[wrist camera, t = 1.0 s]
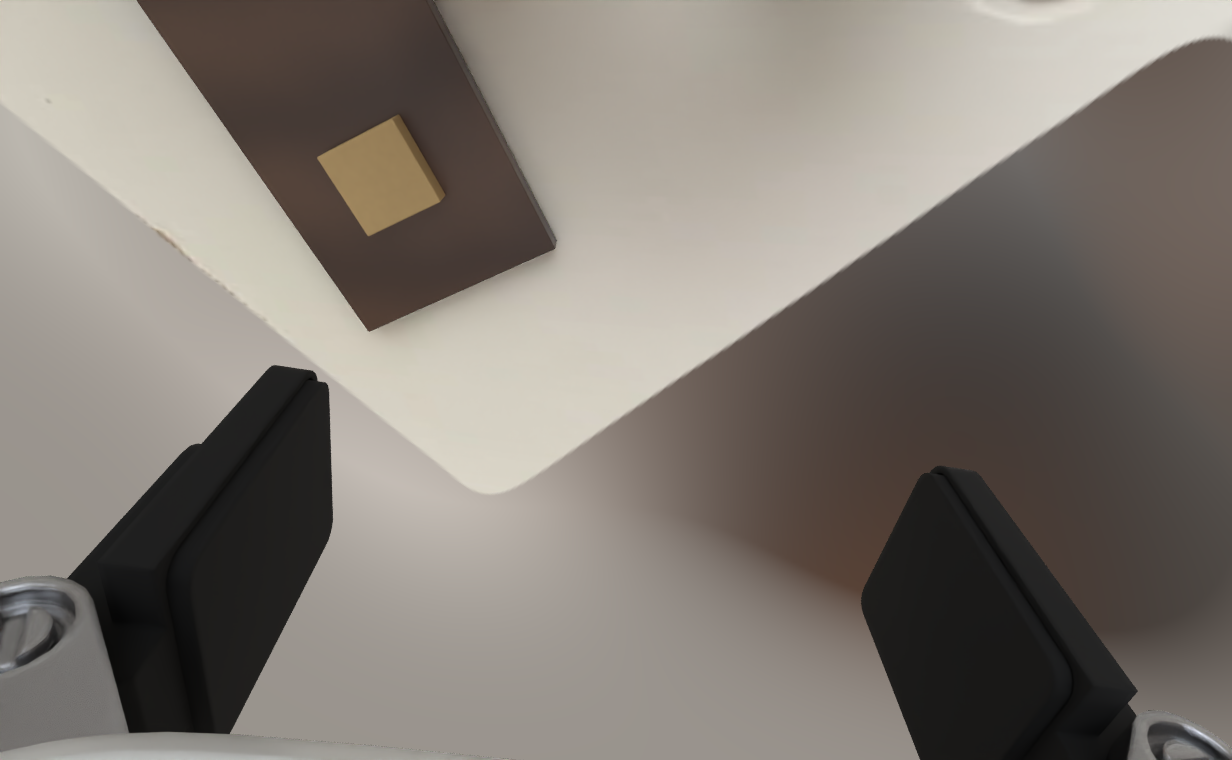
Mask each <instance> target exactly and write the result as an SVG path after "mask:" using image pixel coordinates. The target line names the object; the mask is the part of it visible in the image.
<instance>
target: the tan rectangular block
mask: <svg viewBox="0 0 1232 760" xmlns="http://www.w3.org/2000/svg"><path fill="white" fill-rule="evenodd" d="M317 159H318V160H319V162H320V163H321V165H322V167H323V168H324V170H325V171H326V173H327V174H328V176H329V177H330V179H331V180H332V182H333V183H334V185H335V186H336V188H337V190H338V191H339V193H340V194H341V196H342V197H343V199H344V200H345V202H346V203H347V205H348V206H349V208H350V209H351V211H352V213H353V214H354V216H355V217H356V219H357V220H358V222H359V223H360V225H361V226H362V228H363V229H364V231H365V232H366V234H367V236H371V235H373V234H375V233H377V232H379V231H381V230H383V229H385V228H387V227H389V226H392V225H394V224H396V223H398V222H400V221H402V220H404V219H406V218H408V217H410V216H412V215H414V214H417V213H419V212H421V211H423V210H425V209H427V208H429V207H431V206H433V205H435V204H437V203H439V202H440V201H441V200H442V199H443V198H444V196H445V193H444V191H443V189H442V188H441V186H440V184H439V183H438V181H437V179H436V177H435V176H434V174H433V172H432V170H431V169H430V167H429V165H428V163H427V162H426V160H425V158H424V157H423V155H422V153H421V151H420V150H419V148H418V146H417V144H416V143H415V141H414V139H413V138H412V136H411V134H410V132H409V131H408V129H407V127H406V125H405V124H404V122H403V120H402V118H401V117H400V115H396V116H394V117H392V118H390V119H389V120H387V121H385V122H383V123H381V124H379V125H377V126H375V127H373V128H371V129H369V130H367V131H365V132H363V133H362V134H360V135H358V136H356V137H354V138H352V139H350V140H348V141H346V142H344V143H342V144H340V145H338V146H337V147H335V148H333V149H331V150H329V151H327V152H325V153H323V154H322V155H320V156H318V157H317Z"/></svg>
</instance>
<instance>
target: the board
mask: <svg viewBox="0 0 1232 760" xmlns="http://www.w3.org/2000/svg"><path fill="white" fill-rule="evenodd" d="M137 2H138V3H139V4H140V6H141V7H142V9H143V10H144V12H145V13H146V14H147V16H148V17H149V19H150V20H151V22H152V23H153V24H154V26H155V27H156V29H157V30H158V32H159V33H160V34H161V36H162V37H163V39H164V40H165V42H166V43H167V44H168V46H169V47H170V49H171V50H172V52H173V53H174V54H175V56H176V57H177V59H178V60H179V62H180V63H181V64H182V66H183V67H184V69H185V70H186V72H187V73H188V74H189V76H190V77H191V79H192V80H193V82H194V83H195V84H196V86H197V87H198V89H199V90H200V92H201V93H202V94H203V96H204V97H205V99H206V100H207V102H208V103H209V104H210V106H211V107H212V109H213V110H214V112H215V113H216V114H217V116H218V117H219V119H220V120H221V122H222V123H223V124H224V126H225V127H226V129H227V130H228V132H229V133H230V134H231V136H232V137H233V139H234V140H235V142H236V143H237V144H238V146H239V147H240V149H241V150H242V151H243V153H244V154H245V156H246V157H247V159H248V160H249V161H250V163H251V164H252V166H253V167H254V169H255V170H256V171H257V173H258V174H259V176H260V177H261V179H262V180H263V181H264V183H265V184H266V186H267V187H268V189H269V190H270V191H271V193H272V194H273V196H274V197H275V199H276V200H277V201H278V203H279V204H280V206H281V207H282V209H283V210H284V211H285V213H286V214H287V216H288V217H289V219H290V220H291V221H292V223H293V224H294V226H295V227H296V229H297V230H298V231H299V233H300V234H301V236H302V237H303V239H304V240H305V241H306V243H307V244H308V246H309V247H310V249H311V250H312V251H313V253H314V254H315V256H316V257H317V259H318V260H319V261H320V263H321V264H322V266H323V267H324V269H325V270H326V271H327V273H328V274H329V276H330V277H331V279H332V280H333V281H334V283H335V284H336V286H337V287H338V289H339V290H340V291H341V293H342V294H343V296H344V297H345V299H346V300H347V301H348V303H349V304H350V306H351V307H352V309H353V310H354V311H355V313H356V314H357V316H358V317H359V319H360V320H361V321H362V323H363V324H364V326H365V327H366V329H367V330H368V331H369V332H370V331H372V330H374V329H377V328H379V327H381V326H383V325H385V324H388V323H390V322H392V321H394V320H397V319H399V318H401V317H403V316H406V315H408V314H410V313H412V312H415V311H417V310H419V309H421V308H423V307H426V306H428V305H430V304H432V303H435V302H437V301H439V300H441V299H444V298H446V297H448V296H450V295H453V294H455V293H457V292H459V291H461V290H464V289H466V288H468V287H470V286H473V285H475V284H477V283H479V282H482V281H484V280H486V279H488V278H491V277H493V276H495V275H497V274H500V273H502V272H504V271H506V270H508V269H511V268H513V267H515V266H517V265H520V264H522V263H524V262H526V261H529V260H531V259H533V258H535V257H538V256H540V255H542V254H544V253H546V252H549V251H551V250H553V249H555V246H556V242H557V240H556V238H555V236H554V234H553V232H552V230H551V228H550V226H549V224H548V223H547V221H546V219H545V217H544V215H543V213H542V211H541V209H540V207H539V205H538V203H537V201H536V199H535V197H534V195H533V193H532V191H531V190H530V188H529V186H528V184H527V182H526V180H525V178H524V176H523V174H522V172H521V170H520V168H519V166H518V164H517V162H516V160H515V158H514V157H513V155H512V153H511V151H510V149H509V147H508V145H507V143H506V141H505V139H504V137H503V135H502V133H501V131H500V129H499V127H498V125H497V124H496V122H495V120H494V118H493V116H492V114H491V112H490V110H489V108H488V106H487V104H486V102H485V100H484V98H483V96H482V94H481V92H480V91H479V89H478V87H477V85H476V83H475V81H474V79H473V77H472V75H471V73H470V71H469V69H468V67H467V65H466V63H465V61H464V59H463V58H462V56H461V54H460V52H459V50H458V48H457V46H456V44H455V42H454V40H453V38H452V36H451V34H450V32H449V30H448V28H447V26H446V25H445V23H444V21H443V19H442V17H441V15H440V13H439V11H438V9H437V7H436V5H435V3H434V1H433V0H137ZM396 115H400V117H401V118H402V120H403V122H404V124H405V125H406V127H407V129H408V131H409V132H410V134H411V136H412V138H413V139H414V141H415V143H416V144H417V146H418V148H419V150H420V151H421V153H422V155H423V157H424V158H425V160H426V162H427V163H428V165H429V167H430V169H431V170H432V172H433V174H434V176H435V177H436V179H437V181H438V183H439V184H440V186H441V188H442V189H443V191H444V193H445V196H444V198H443V199H442V200H441V201H440V202H439V203H437V204H435V205H433V206H431V207H429V208H427V209H425V210H423V211H421V212H419V213H417V214H414V215H412V216H410V217H408V218H406V219H404V220H402V221H400V222H398V223H396V224H394V225H392V226H389V227H387V228H385V229H383V230H381V231H379V232H377V233H375V234H373V235H371V236H367V234H366V232H365V231H364V229H363V228H362V226H361V225H360V223H359V222H358V220H357V219H356V217H355V216H354V214H353V213H352V211H351V209H350V208H349V206H348V205H347V203H346V202H345V200H344V199H343V197H342V196H341V194H340V193H339V191H338V190H337V188H336V186H335V185H334V183H333V182H332V180H331V179H330V177H329V176H328V174H327V173H326V171H325V170H324V168H323V167H322V165H321V163H320V162H319V160H318V159H317V157H318V156H320V155H322V154H323V153H325V152H327V151H329V150H331V149H333V148H335V147H337V146H338V145H340V144H342V143H344V142H346V141H348V140H350V139H352V138H354V137H356V136H358V135H360V134H362V133H363V132H365V131H367V130H369V129H371V128H373V127H375V126H377V125H379V124H381V123H383V122H385V121H387V120H389V119H390V118H392V117H394V116H396Z"/></svg>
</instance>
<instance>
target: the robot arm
mask: <svg viewBox="0 0 1232 760" xmlns="http://www.w3.org/2000/svg"><path fill="white" fill-rule="evenodd" d="M331 474H332V473H331V440H330V408H329V389H328V385H327V384H326V383H325V382H318V381H317V376H316V374H315V373H314V372H313V371H310V370H304V369H297V368H291V367H284V366H277V365H274V366H271V367H270V368H269V369H268V370H267V371H266V372H265V373H264V374H263V375H262V376H261V378H260V379H259V380H258V381H257V382H256V383H255V384H254V385H253V387H252V388H251V389H250V390H249V391H248V392H247V393H246V394H245V396H244V397H243V398H242V399H241V400H240V401H239V402H238V403H237V405H236V406H235V407H234V408H233V409H232V410H231V411H230V413H229V414H228V415H227V416H226V417H225V418H224V419H223V420H222V421H221V423H220V424H219V425H218V426H217V427H216V428H215V430H214V431H213V432H212V433H211V434H210V435H209V436H208V437H207V438H206V439H205V441H204V442H203V443H202V444H194V445H191V446H189V447H188V448H187V449H186V450H185V451H183V452H182V453H181V454H180V455H179V457H178V458H177V459H176V460H175V461H174V462H173V463H172V464H171V465H170V466H169V467H168V469H167V470H166V471H165V472H164V473H163V474H162V475H161V476H160V477H159V478H158V480H157V481H156V482H155V483H154V484H153V485H152V486H151V487H150V488H149V489H148V491H147V492H146V493H145V494H144V495H143V496H142V497H141V498H140V499H139V500H138V501H137V503H136V504H135V505H134V506H133V507H132V508H131V509H130V510H129V511H128V513H126V515H125V516H124V517H123V518H122V519H121V520H120V521H119V522H118V523H117V524H116V525H115V527H114V528H113V529H112V530H111V531H110V532H109V533H108V534H107V536H106V537H105V538H104V539H103V540H102V541H101V542H100V543H99V544H98V545H97V547H95V549H94V550H93V551H92V552H91V553H90V554H89V555H88V556H87V557H86V558H85V560H84V561H83V562H82V563H81V564H80V565H79V566H78V567H77V568H76V569H75V570H74V572H73V573H72V574H71V575H70V576H69V577H68V578H67V579H65V578H60V577H55V576H30V577H23V578H18V579H13V580H8V581H4V582H0V760H513V759H504V758H494V757H484V756H483V757H482V756H473V755H463V754H453V753H443V752H433V751H423V750H413V749H403V748H393V747H383V746H372V745H361V744H348V743H336V742H324V741H311V740H300V739H288V738H276V737H264V736H251V735H239V734H230V732H231V730H232V728H233V726H234V724H235V722H236V720H237V718H238V717H239V715H240V713H241V711H242V709H243V707H244V705H245V703H246V701H247V699H248V697H249V695H250V693H251V691H252V689H253V687H254V685H255V683H256V681H257V679H258V677H259V675H260V673H261V672H262V670H263V667H264V666H265V664H266V662H267V660H268V658H269V656H270V654H271V652H272V650H273V648H274V646H275V644H276V642H277V640H278V638H279V636H280V634H281V632H282V630H283V628H284V626H285V624H286V623H287V621H288V619H289V616H290V615H291V613H292V611H293V609H294V607H295V605H296V603H297V601H298V599H299V597H300V595H301V593H302V591H303V589H304V587H305V585H306V583H307V581H308V579H309V577H310V575H311V573H312V571H313V569H314V568H315V566H316V564H317V562H318V560H319V558H320V556H321V554H322V552H323V550H324V548H325V546H326V544H327V542H328V540H329V536H330V533H331V529H332V523H333V509H332V508H333V507H332V475H331ZM861 599H862V600H861V605H862V611H863V614H864V617H865V619H866V622H867V625H868V627H869V630H870V632H871V635H872V637H873V640H874V642H875V645H876V648H877V650H878V653H879V655H880V658H881V660H882V663H883V665H884V668H885V671H886V673H887V676H888V678H889V681H890V683H891V686H892V688H893V691H894V694H895V696H896V699H897V702H898V704H899V707H900V709H901V712H902V714H903V717H904V719H905V722H906V724H907V727H908V730H909V732H910V735H911V737H912V740H913V743H914V745H915V747H916V750H917V753H918V756H919V758H920V760H1232V748H1231V747H1230V746H1229V745H1228V744H1226V743H1225V742H1224V741H1223V740H1221V739H1220V738H1218V737H1217V736H1215V735H1214V734H1212V733H1211V732H1210V731H1208V730H1207V729H1205V728H1204V727H1202V726H1200V725H1198V724H1196V723H1194V722H1192V721H1190V720H1188V719H1186V718H1184V717H1182V716H1179V715H1175V714H1172V713H1168V712H1165V711H1152V710H1148V711H1146V712H1143V713H1141V714H1139V715H1137V716H1136V714H1135V713H1134V712H1133V710H1132V709H1131V707H1130V706H1129V705H1128V702H1129V701H1130V700H1131V699H1132V697H1133V696H1134V695H1135V694H1136V693H1137V689H1136V688H1135V686H1134V685H1133V684H1132V682H1131V681H1130V680H1129V678H1128V677H1127V676H1126V674H1125V673H1124V671H1123V670H1122V669H1121V667H1120V666H1119V665H1118V663H1117V662H1116V660H1115V659H1114V658H1113V656H1112V655H1111V654H1110V652H1109V651H1108V650H1107V648H1106V647H1105V646H1104V644H1103V643H1102V642H1101V640H1100V639H1099V637H1098V636H1097V635H1096V633H1095V632H1094V631H1093V629H1092V628H1091V626H1090V625H1089V624H1088V622H1087V621H1086V619H1085V618H1084V617H1083V615H1082V614H1081V613H1080V611H1079V610H1078V609H1077V607H1076V606H1075V604H1074V603H1073V602H1072V600H1071V599H1070V598H1069V596H1068V595H1067V594H1066V592H1065V591H1064V589H1063V588H1062V587H1061V586H1060V584H1059V583H1058V581H1057V580H1056V579H1055V577H1054V576H1053V574H1052V573H1051V572H1050V570H1049V569H1048V568H1047V566H1046V565H1045V564H1044V562H1043V561H1042V559H1041V558H1040V557H1039V555H1038V554H1037V553H1036V551H1035V550H1034V548H1033V547H1032V546H1031V545H1030V543H1029V542H1028V540H1027V539H1026V538H1025V536H1024V535H1023V533H1022V532H1021V531H1020V529H1019V528H1018V527H1017V525H1016V524H1015V522H1014V521H1013V520H1012V518H1011V517H1010V516H1009V514H1008V513H1007V512H1006V510H1005V509H1004V507H1003V506H1002V505H1001V504H1000V502H999V501H998V500H997V498H996V497H995V495H994V494H993V493H992V491H991V490H990V488H989V487H988V486H987V484H986V483H985V482H984V480H983V479H982V477H981V476H980V475H979V474H978V473H977V472H975V471H971V470H965V469H958V468H951V467H945V466H937V467H935V468H934V469H933V470H931V472H930V473H924V474H923V475H921V476H920V478H919V479H918V481H917V483H916V485H915V487H914V489H913V491H912V493H911V495H910V497H909V499H908V501H907V503H906V505H905V507H904V509H903V511H902V513H901V515H900V517H899V519H898V521H897V523H896V525H895V527H894V529H893V531H892V533H891V535H890V537H889V539H888V541H887V543H886V545H885V547H884V549H883V551H882V553H881V555H880V557H879V559H878V561H877V563H876V565H875V567H874V569H873V571H872V573H871V575H870V577H869V579H868V581H867V583H866V585H865V587H864V589H863V592H862V597H861Z"/></svg>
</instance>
